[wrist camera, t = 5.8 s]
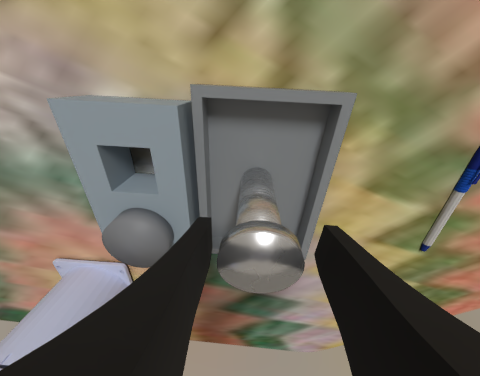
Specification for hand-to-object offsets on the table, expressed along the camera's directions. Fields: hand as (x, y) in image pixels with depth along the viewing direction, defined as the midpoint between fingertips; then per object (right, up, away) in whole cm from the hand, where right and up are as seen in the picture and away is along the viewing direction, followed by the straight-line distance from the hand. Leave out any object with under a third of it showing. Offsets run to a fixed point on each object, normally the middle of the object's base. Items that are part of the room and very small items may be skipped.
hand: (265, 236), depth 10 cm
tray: (0, +3, +6) cm, 6 cm away
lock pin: (0, +3, +5) cm, 6 cm away
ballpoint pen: (+16, +2, +6) cm, 17 cm away
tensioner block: (-8, +3, +6) cm, 11 cm away
